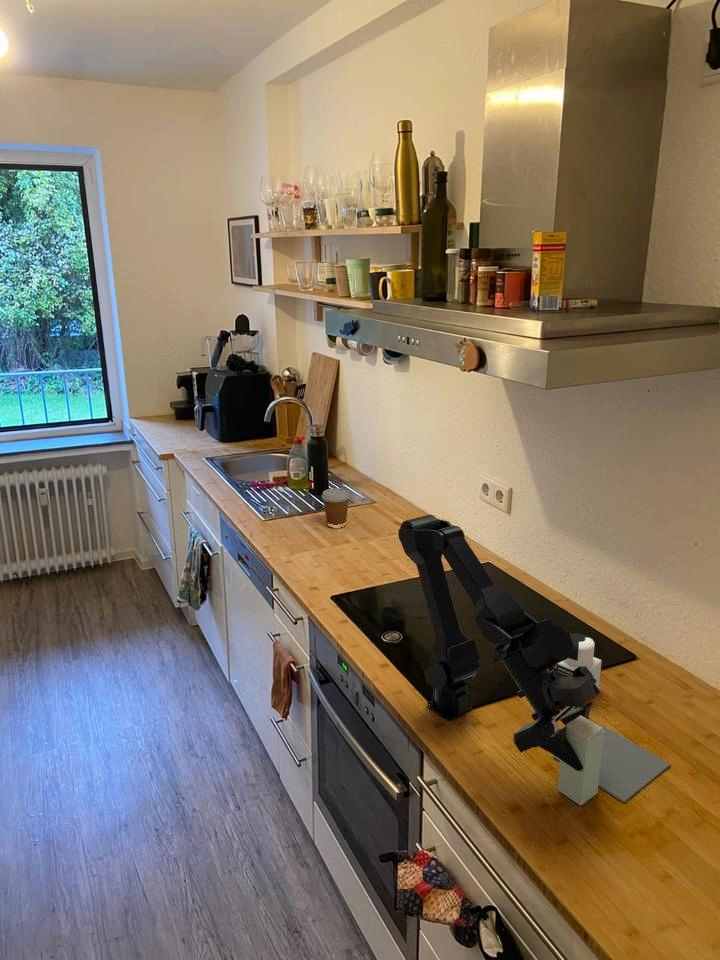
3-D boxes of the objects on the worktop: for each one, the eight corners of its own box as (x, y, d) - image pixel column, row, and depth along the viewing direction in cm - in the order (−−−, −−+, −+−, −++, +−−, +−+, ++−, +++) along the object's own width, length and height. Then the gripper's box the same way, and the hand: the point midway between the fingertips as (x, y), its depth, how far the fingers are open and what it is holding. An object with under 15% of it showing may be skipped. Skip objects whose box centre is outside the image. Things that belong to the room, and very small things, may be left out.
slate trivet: (553, 757, 123) (553, 755, 123) (599, 726, 131) (600, 724, 131) (624, 803, 112) (624, 801, 112) (670, 765, 120) (670, 763, 120)
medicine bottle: (550, 690, 142) (553, 638, 138) (567, 676, 147) (571, 626, 143) (582, 705, 137) (586, 652, 133) (599, 690, 142) (604, 638, 138)
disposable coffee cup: (316, 527, 234) (315, 493, 231) (334, 518, 242) (333, 486, 238) (338, 532, 229) (337, 498, 225) (356, 524, 236) (355, 490, 233)
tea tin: (557, 789, 115) (563, 724, 111) (574, 778, 117) (580, 714, 114) (580, 805, 111) (587, 739, 107) (597, 793, 114) (604, 727, 110)
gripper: (534, 683, 104) (597, 780, 99) (593, 636, 116) (651, 720, 112) (488, 706, 111) (545, 797, 107) (548, 660, 124) (601, 739, 120)
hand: (588, 762), depth 111 cm, fingers closed on tea tin, 5 cm apart
